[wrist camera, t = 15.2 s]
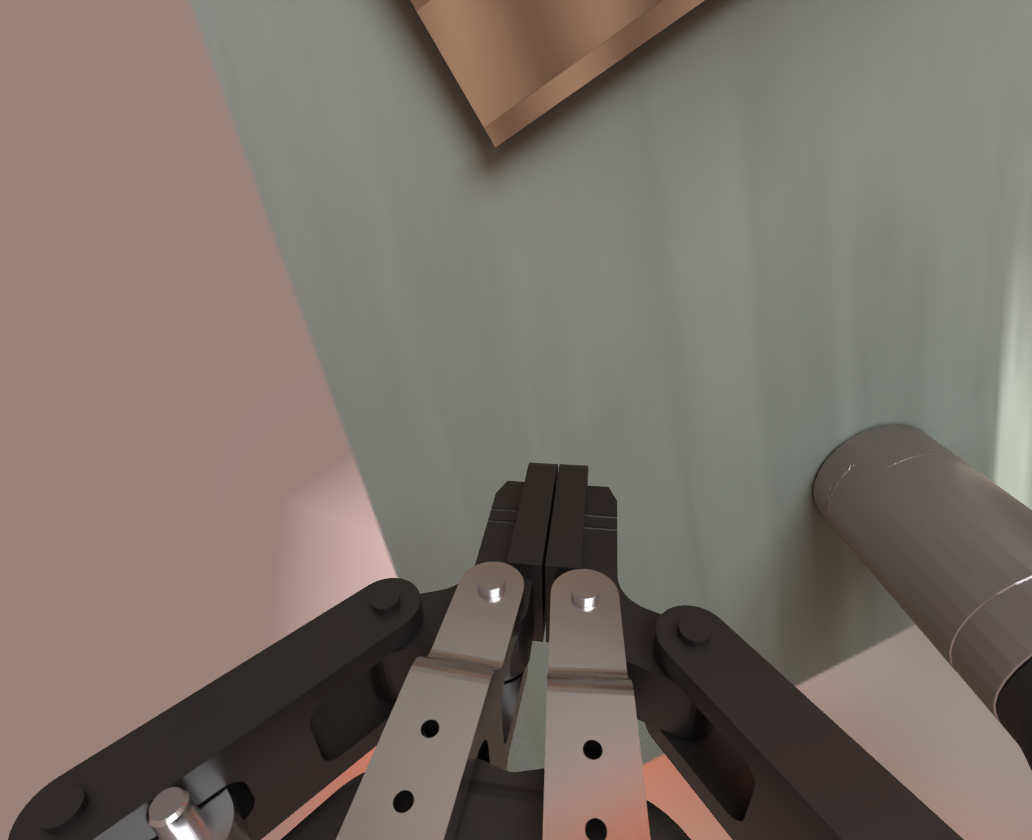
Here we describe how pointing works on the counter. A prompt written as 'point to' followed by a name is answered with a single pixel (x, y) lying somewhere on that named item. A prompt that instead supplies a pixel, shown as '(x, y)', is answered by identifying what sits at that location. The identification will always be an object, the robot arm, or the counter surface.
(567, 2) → the lane
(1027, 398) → the counter surface
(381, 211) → the counter surface
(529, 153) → the counter surface
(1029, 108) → the counter surface
